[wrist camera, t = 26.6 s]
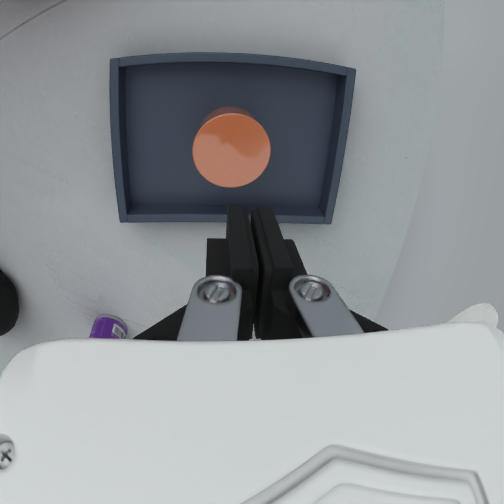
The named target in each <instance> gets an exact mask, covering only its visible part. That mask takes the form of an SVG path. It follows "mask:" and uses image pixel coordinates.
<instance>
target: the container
mask: <svg viewBox="0 0 504 504" xmlns="http://www.w3.org/2000/svg"><path fill="white" fill-rule="evenodd" d="M126 335H127V327H126V325H125V323H124V322H123V321H122V320H120V319H119V318H117V317H115V316H112V315H107V314H105V315H100V316H98V317H97V318H96V319H95V322H94V325H93V327H92V330H91V333H90V336H89V338H106V339H126Z"/></svg>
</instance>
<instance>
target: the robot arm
mask: <svg viewBox="0 0 504 504" xmlns="http://www.w3.org/2000/svg"><path fill="white" fill-rule="evenodd" d="M253 323H254V330H255V336H256V339H261V340H254V341H249V339H252V332H253ZM0 504H504V334H503V332H501V331H500V330H499V329H496V328H494V327H492V326H489V325H488V324H487V323H486V322H477V323H476V322H451V323H444V324H434V325H426V326H419V327H412V328H404V329H397V330H388V329H386V328H384V327H382V326H380V325H378V324H377V323H375V322H373V321H371V320H369V319H367V318H365V317H363V316H361V315H359V314H357V313H355V312H353V311H351V310H349V309H348V307H347V306H346V305H345V303H344V302H343V300H342V299H341V297H340V296H339V294H338V293H337V291H336V290H335V288H334V287H333V286H332V285H331V284H330V283H329V282H328V281H327V280H325V279H324V278H321V277H318V276H314V275H307V273H306V270H305V268H304V265H303V263H302V260H301V258H300V255H299V253H298V250H297V248H296V245H295V243H294V241H293V240H292V239H283V236H282V234H281V231H280V228H279V225H278V223H277V220H276V217H275V214H274V212H273V209H272V207H260V206H257V209H256V210H252V211H251V219H250V220H249V215H248V210H243V209H242V206H228V207H227V229H226V239H215V238H207V258H206V277H204V278H201V279H199V280H198V281H197V282H196V283H195V284H194V286H193V288H192V291H191V294H190V298H189V301H188V304H187V305H185V306H184V307H182V308H180V309H179V310H177V311H176V312H174V313H172V314H171V315H169V316H168V317H166V318H164V319H163V320H161V321H160V322H158V323H157V324H155V325H153V326H152V327H150V328H149V329H147V330H145V331H144V332H142V333H141V334H139V335H137V336H136V337H134V338H133V339H106V338H68V339H59V340H52V341H48V342H44V343H39V344H36V345H33V346H30V347H28V348H26V349H24V350H22V351H20V352H19V353H18V354H16V355H15V356H14V357H13V358H12V359H11V360H10V362H9V363H8V364H7V366H6V367H5V369H4V370H3V372H2V374H1V375H0Z"/></svg>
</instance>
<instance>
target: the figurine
mask: <svg viewBox="0 0 504 504" xmlns="http://www.w3.org/2000/svg"><path fill="white" fill-rule="evenodd" d="M18 313H19V307H18V299H17V294H16V291H15V289H14V287H13V285H12V284H11V282H10V281H9V280H8V279H7V278H6V277H5V276H3V274H2V272H1V271H0V336H1V335H4V334H5V333H7V332H8V331H10V330H11V329H12V328H13V327H14V325H15V323H16V321H17V318H18Z"/></svg>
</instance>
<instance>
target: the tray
mask: <svg viewBox="0 0 504 504" xmlns="http://www.w3.org/2000/svg"><path fill="white" fill-rule="evenodd" d="M355 75H356V69H354V68H349V67H344V66H339V65H334V64H328V63H323V62H317V61H310V60H304V59H296V58H288V57H280V56H270V55H258V54H243V53H214V52H194V53H166V54H151V55H139V56H130V57H121V58H113V59H110V123H111V141H112V155H113V167H114V178H115V187H116V196H117V204H118V212H119V219H120V222H121V223H124V222H129V223H130V222H227V207H228V206H242V209H243V210H248V215H249V220H250V219H251V211H252V210H256V209H257V206H260V207H272V209H273V212H274V214H275V217H276V220H277V223H301V224H331V222H332V217H333V212H334V207H335V202H336V197H337V192H338V186H339V181H340V175H341V170H342V164H343V158H344V152H345V146H346V140H347V134H348V127H349V121H350V114H351V106H352V99H353V91H354V83H355ZM225 106H235V107H240V108H242V109H245V110H247V111H248V112H250V113H251V114H252V115H253V116H254V117H255V118H256V119H257V121H258V122H259V123H260V124H261V126H262V127H263V128H264V129H265V131H266V133H267V135H268V137H269V140H270V144H271V155H270V159H269V163H268V165H267V167H266V168H265V170H264V171H263V173H262V174H261V175H260V176H259V177H258V178H257V179H255V180H254V181H252V182H251V183H249V184H246V185H244V186H240V187H233V188H228V187H221V186H218V185H215V184H213V183H211V182H209V181H208V180H206V179H205V178H204V177H203V176H202V175H201V174H200V173H199V171H198V170H197V168H196V166H195V164H194V161H193V156H192V146H193V142H194V139H195V136H196V133H197V130H198V128H199V125H200V123H201V121H202V120H203V119H204V117H205V116H206V115H207V114H209V113H210V112H212V111H213V110H215V109H217V108H220V107H225Z"/></svg>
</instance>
